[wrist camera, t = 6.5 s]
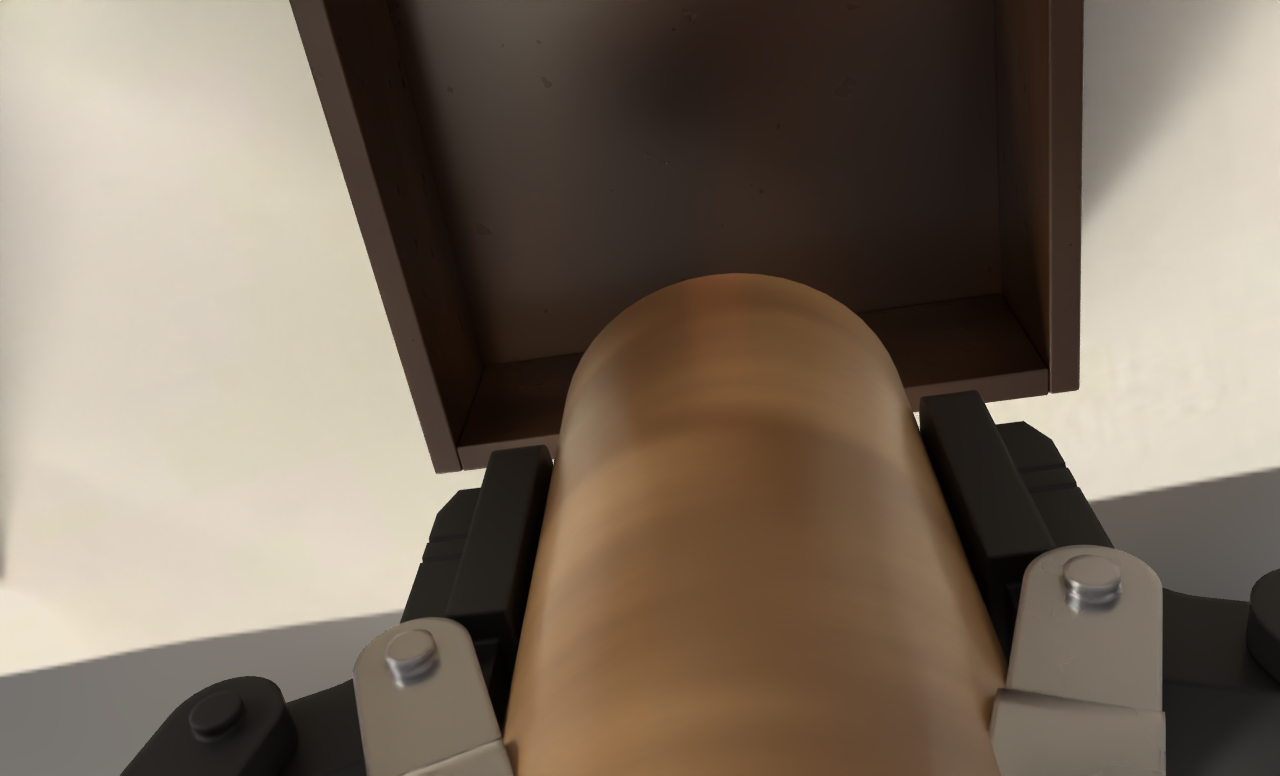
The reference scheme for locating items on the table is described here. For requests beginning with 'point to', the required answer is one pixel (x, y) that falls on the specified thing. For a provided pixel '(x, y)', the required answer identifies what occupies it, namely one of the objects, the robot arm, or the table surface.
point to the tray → (705, 182)
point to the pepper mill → (748, 557)
